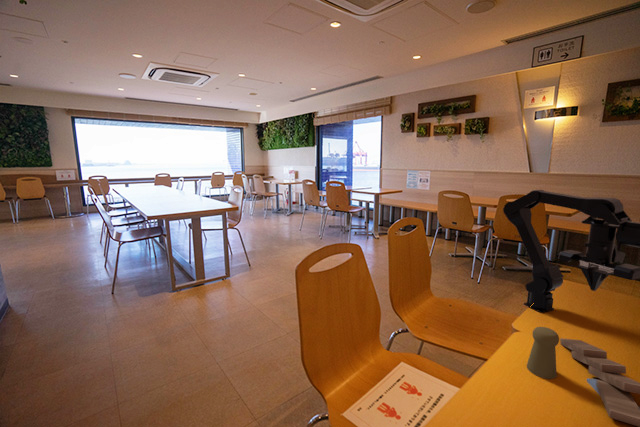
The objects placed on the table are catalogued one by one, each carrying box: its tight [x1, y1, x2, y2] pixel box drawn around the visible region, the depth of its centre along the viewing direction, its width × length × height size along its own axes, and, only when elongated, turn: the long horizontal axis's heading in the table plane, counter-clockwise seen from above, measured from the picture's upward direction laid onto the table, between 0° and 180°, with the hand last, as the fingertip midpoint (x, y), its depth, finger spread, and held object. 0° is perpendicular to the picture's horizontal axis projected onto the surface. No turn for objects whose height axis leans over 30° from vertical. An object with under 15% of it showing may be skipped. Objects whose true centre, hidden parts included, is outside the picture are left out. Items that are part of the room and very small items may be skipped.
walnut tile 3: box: [587, 365, 640, 395], centre depth 68 cm, size 2×5×10 cm
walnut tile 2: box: [570, 350, 627, 375], centre depth 74 cm, size 2×5×10 cm
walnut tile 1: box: [559, 337, 608, 359], centre depth 80 cm, size 2×5×10 cm
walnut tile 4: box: [596, 378, 640, 427], centre depth 63 cm, size 2×5×10 cm
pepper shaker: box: [526, 326, 560, 380], centre depth 74 cm, size 6×6×11 cm
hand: (593, 290), depth 92 cm, fingers closed
